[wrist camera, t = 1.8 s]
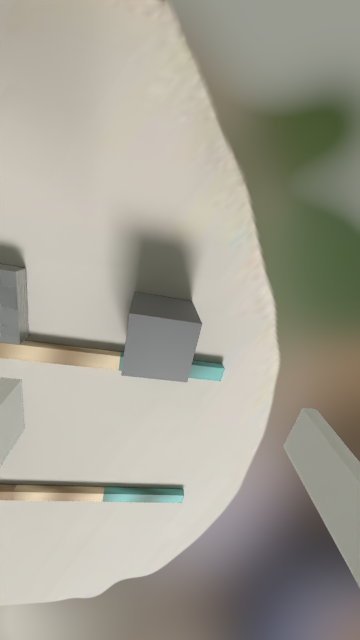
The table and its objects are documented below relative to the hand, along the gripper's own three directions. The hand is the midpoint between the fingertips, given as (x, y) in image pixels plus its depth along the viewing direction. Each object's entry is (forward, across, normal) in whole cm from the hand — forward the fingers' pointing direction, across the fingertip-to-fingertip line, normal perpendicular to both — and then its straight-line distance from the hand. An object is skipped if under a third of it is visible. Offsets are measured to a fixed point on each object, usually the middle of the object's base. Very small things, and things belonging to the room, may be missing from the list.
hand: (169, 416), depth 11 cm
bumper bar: (+11, -12, 0) cm, 17 cm away
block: (+11, 0, 0) cm, 11 cm away
